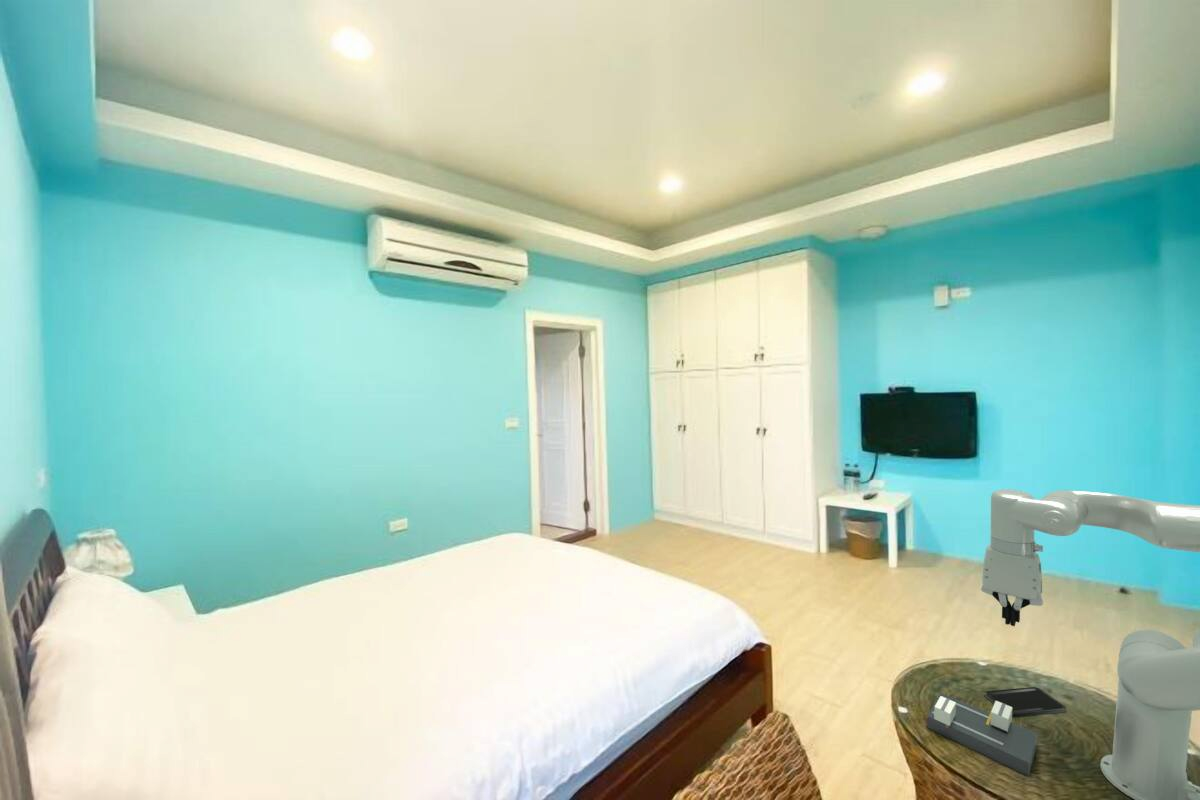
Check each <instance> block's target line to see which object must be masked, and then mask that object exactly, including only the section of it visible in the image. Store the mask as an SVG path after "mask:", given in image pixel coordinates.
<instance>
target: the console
mask: <svg viewBox="0 0 1200 800" xmlns="http://www.w3.org/2000/svg"><path fill="white" fill-rule="evenodd" d="M940 696H942V697H945V698H948V699H950V700H952V701H954V702H956V714H955V716H954V718H953V720H952V722H951V724H950V726H949V725H946V724H944V723H942V722H940V721H938V720H936V719H934V707H935V705H936V703H937V701H938V700H939V698H940ZM990 723H991V711H990V712H988V711H985V710H983V709H981V708H978V707H976V706H973V705H972V704H970V703H967V702H964V701H961V700H960V699H957V698H955V697H953V696H950V695H948V694H945V693H943V692H942V691H941V692H940V693H939V694H938V696H937V698H936V700H935V701H934V703H933V705H932V707H931V709H929V712H928V713H927V716H926V728H927V729H929V730H931V731H933V732H935V733H938V734H939V735H942V736H943V737H945V738H948V739H950V740H952V741H953V742H956V743H957V744H960V745H962V746H965V748H966V747H967V748H969V749H971V750H972V751H975V752H977V753H979V754H981V755H983V756H985V757H988V758H989V759H992V760H994V761H996V762H998V763H1000V764H1002V765H1003V766H1006V767H1008V768H1010V769H1012V770H1015V771H1016V772H1019V773H1021V774H1023V775H1025V776H1027V777H1029V776H1030V773H1031V768H1032V765H1033V760H1034V759H1035V758H1034V757H1035V754H1036V750H1037V748H1038V732H1035V731H1033V730H1031V729H1028V728H1026V727H1023V726H1021V725H1019V724H1016V723H1015V722H1012V721H1011V723H1010V726H1009V729H1008V732H1007V731H1005V730H1003V729H1000V728H998V727H996V726H994V725H991V724H990Z"/></svg>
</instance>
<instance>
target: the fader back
mask: <svg viewBox="0 0 1200 800" xmlns="http://www.w3.org/2000/svg"><path fill="white" fill-rule="evenodd" d="M990 712H991V723H990V724H991V725H994V726H996V727H998V728H1000V729H1003V730H1005V731H1007V732H1008V729H1009V726H1010V723H1011V722H1012V721H1013V717H1012V707H1010V706H1008V705H1006V704H1004V703H1001V702H998V701H995V703H994V704H993V706H992V708H991V710H990Z"/></svg>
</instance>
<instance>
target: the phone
mask: <svg viewBox="0 0 1200 800" xmlns="http://www.w3.org/2000/svg"><path fill="white" fill-rule="evenodd" d="M983 695H984V697H985V698H986V699H987V700H988V701H989V702H990V703H991V704H993V705H994V703H995V701H998V702H1001V703H1004V704H1006V705H1008V706H1010V707H1012V718H1017V717H1018V718H1019V717H1028V716H1029V717H1030V716H1039V715H1040V716H1041V715H1049V714H1058V713H1059V714H1061V713H1066V711H1067V710H1066V709H1067V707H1066V706H1065V705H1064V704H1062V703H1061V702H1059V701H1058V700H1057V699H1055V698H1054V697H1052V696H1051V695H1050V694H1048V693H1047V692H1045V690H1043V689H1042V688H1039V687H1036V686H1030V687H1029V686H1028V687H1019V688H1008V689H998V690H987V691H984V693H983Z"/></svg>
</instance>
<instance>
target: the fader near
mask: <svg viewBox="0 0 1200 800" xmlns="http://www.w3.org/2000/svg"><path fill="white" fill-rule="evenodd" d="M955 714H956V702H954V701H952V700H950V699H948V698H945V697H942V696H940V698H939V700H938V701H937V703H936V705H935V707H934V719H936V720H938V721H940V722H942V723H944V724H946V725H949V726H950V724H951V722H952V720H953V718H954V716H955Z"/></svg>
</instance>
